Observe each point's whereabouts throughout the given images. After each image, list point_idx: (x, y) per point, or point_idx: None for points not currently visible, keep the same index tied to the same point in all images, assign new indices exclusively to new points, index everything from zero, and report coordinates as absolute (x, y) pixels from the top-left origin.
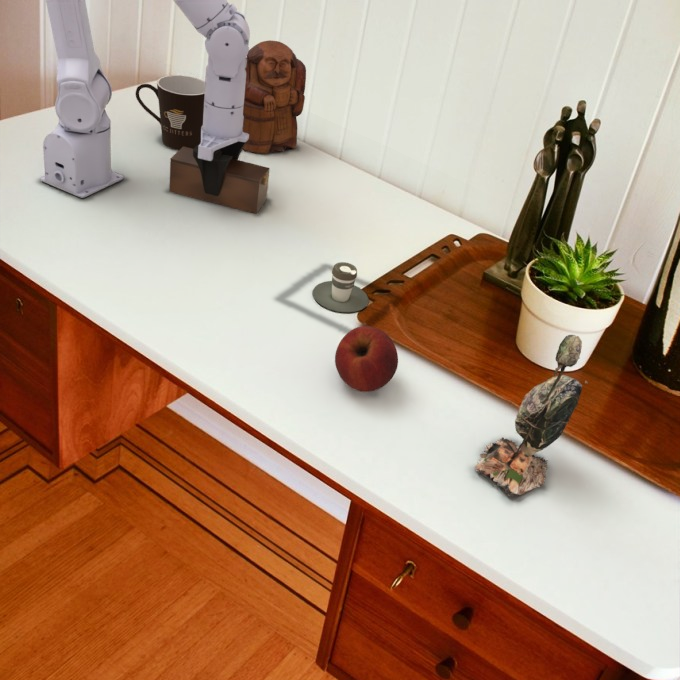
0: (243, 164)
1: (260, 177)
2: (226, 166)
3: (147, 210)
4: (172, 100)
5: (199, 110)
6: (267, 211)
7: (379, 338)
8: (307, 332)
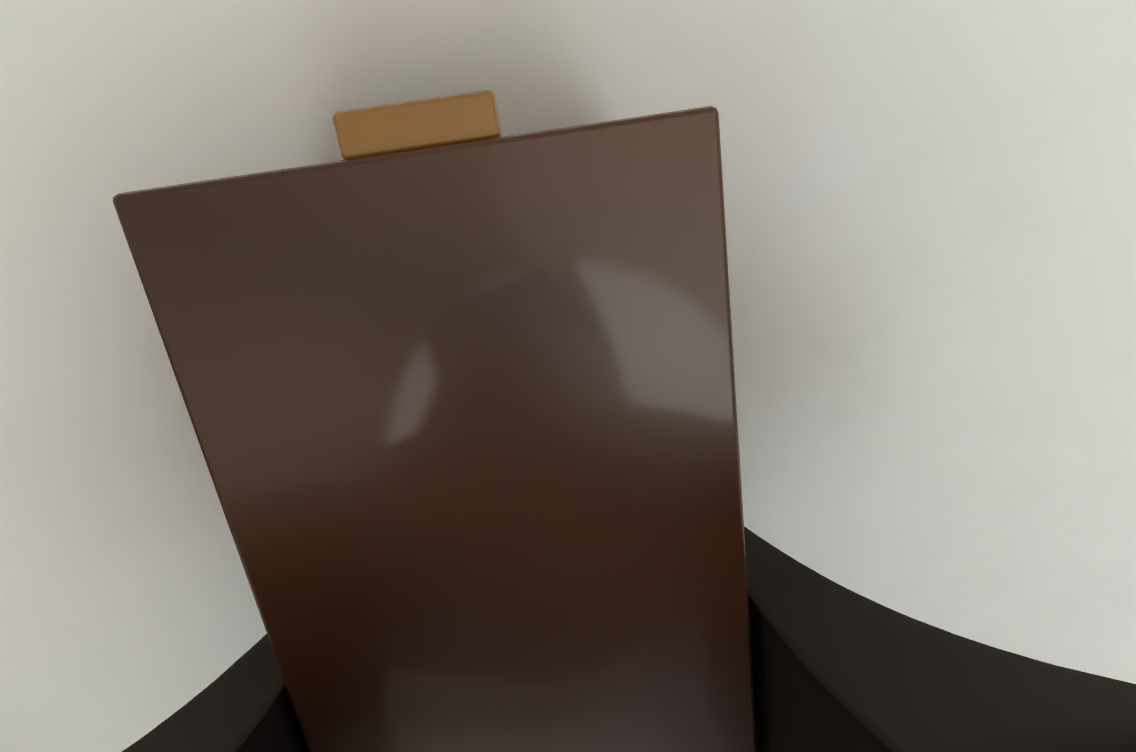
0: (357, 565)
1: (589, 152)
2: (884, 668)
3: None
4: None
5: None
6: (506, 70)
7: None
8: None
